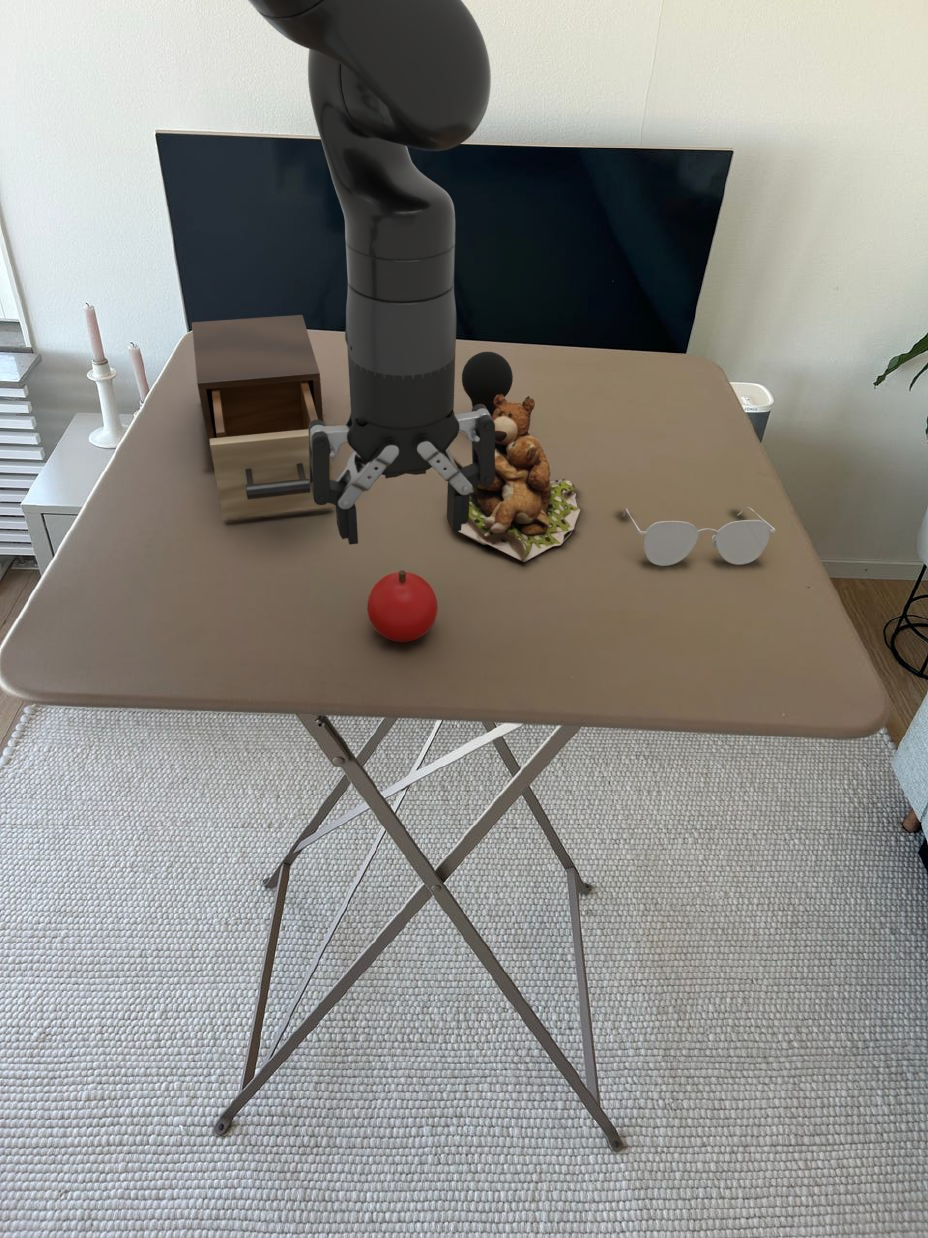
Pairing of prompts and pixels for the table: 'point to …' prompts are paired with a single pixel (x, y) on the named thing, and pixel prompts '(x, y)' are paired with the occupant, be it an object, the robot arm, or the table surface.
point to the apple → (402, 606)
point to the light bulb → (486, 379)
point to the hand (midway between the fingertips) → (403, 531)
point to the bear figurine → (520, 491)
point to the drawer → (263, 449)
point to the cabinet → (252, 358)
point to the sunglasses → (732, 540)
